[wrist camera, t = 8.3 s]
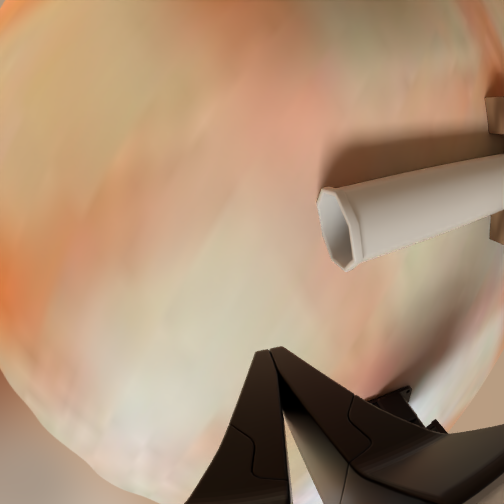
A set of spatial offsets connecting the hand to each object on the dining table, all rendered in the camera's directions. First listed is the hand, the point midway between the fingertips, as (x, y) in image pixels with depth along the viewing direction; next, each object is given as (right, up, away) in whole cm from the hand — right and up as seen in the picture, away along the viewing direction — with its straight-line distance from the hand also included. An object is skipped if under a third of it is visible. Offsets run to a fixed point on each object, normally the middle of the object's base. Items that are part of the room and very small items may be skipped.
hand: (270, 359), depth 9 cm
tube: (+16, +9, +13) cm, 22 cm away
